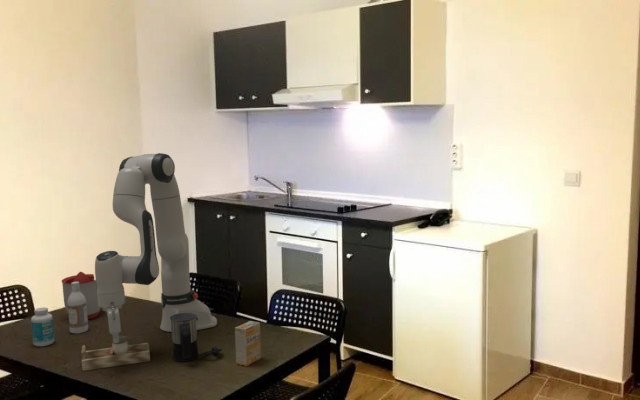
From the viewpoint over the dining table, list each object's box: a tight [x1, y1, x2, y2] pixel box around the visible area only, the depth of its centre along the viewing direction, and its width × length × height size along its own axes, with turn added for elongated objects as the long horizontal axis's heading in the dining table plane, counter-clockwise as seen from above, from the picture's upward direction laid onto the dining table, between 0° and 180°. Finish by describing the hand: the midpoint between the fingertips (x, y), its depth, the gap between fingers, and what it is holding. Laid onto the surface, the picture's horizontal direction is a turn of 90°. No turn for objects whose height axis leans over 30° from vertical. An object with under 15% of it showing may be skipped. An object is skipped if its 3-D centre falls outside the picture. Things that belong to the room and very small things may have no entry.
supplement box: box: [234, 320, 262, 367], centre depth 211 cm, size 8×5×13 cm, turn 148°
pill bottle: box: [30, 307, 55, 347], centre depth 234 cm, size 8×7×14 cm
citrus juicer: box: [61, 271, 101, 320], centre depth 265 cm, size 16×17×20 cm
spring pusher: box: [109, 346, 113, 356], centre depth 215 cm, size 1×6×3 cm, turn 18°
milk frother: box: [170, 313, 223, 362], centre depth 217 cm, size 14×16×15 cm
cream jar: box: [111, 335, 129, 355], centre depth 215 cm, size 5×5×7 cm
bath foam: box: [67, 282, 89, 334], centre depth 247 cm, size 7×7×20 cm
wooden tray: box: [80, 342, 151, 372], centre depth 215 cm, size 22×9×6 cm, turn 108°
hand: (115, 337), depth 214 cm, fingers open, 8 cm apart
